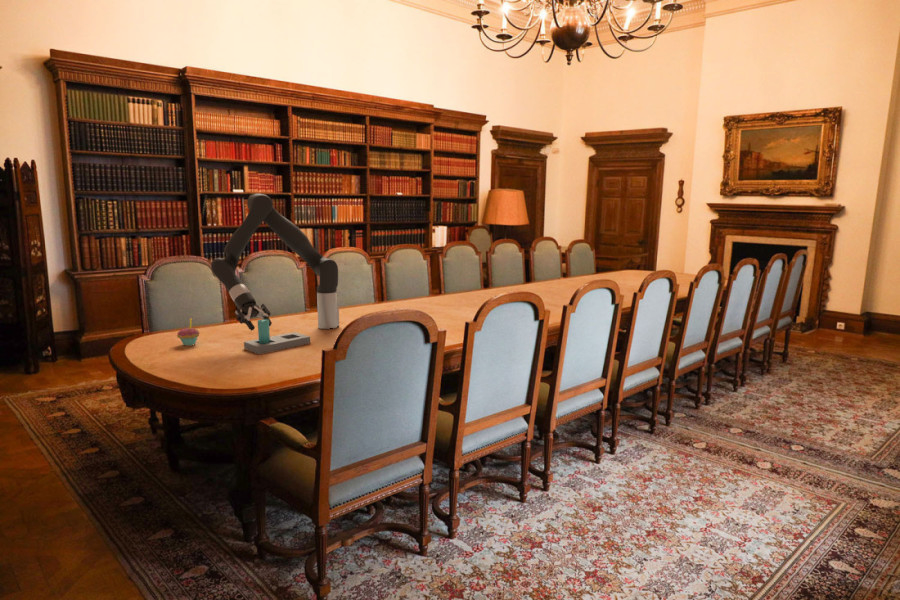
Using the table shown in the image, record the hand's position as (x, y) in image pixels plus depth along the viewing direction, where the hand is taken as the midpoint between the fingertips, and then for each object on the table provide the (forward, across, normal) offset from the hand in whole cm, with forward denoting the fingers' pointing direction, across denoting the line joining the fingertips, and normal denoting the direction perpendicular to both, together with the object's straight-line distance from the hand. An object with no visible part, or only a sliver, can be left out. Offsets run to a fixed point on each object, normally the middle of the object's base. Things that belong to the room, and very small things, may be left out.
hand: (261, 327), depth 237 cm
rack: (+8, +6, +5) cm, 11 cm away
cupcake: (-15, -14, +28) cm, 35 cm away
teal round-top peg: (+7, 0, +6) cm, 9 cm away
